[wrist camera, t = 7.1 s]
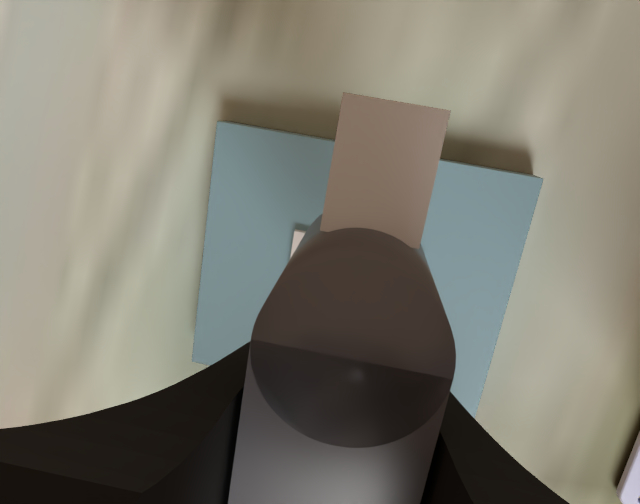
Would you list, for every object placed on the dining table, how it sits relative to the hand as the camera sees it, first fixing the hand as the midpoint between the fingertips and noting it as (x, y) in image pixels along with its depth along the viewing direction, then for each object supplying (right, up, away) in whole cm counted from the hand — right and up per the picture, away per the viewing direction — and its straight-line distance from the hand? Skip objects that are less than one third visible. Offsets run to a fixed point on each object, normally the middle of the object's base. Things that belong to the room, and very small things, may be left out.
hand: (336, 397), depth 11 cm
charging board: (+1, +3, +9) cm, 10 cm away
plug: (0, +2, +1) cm, 2 cm away
